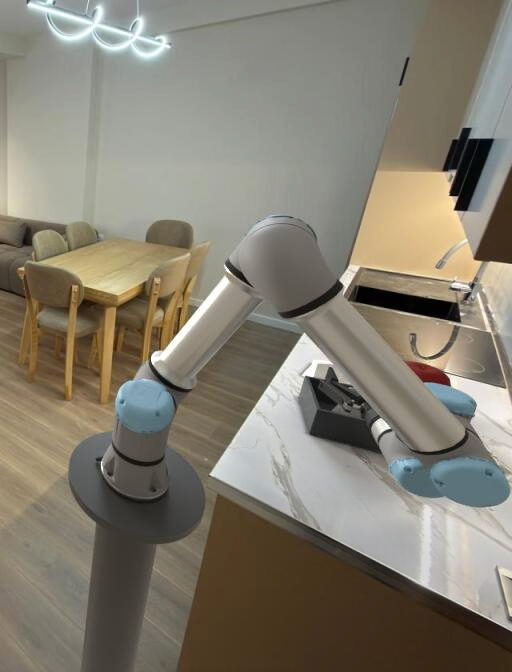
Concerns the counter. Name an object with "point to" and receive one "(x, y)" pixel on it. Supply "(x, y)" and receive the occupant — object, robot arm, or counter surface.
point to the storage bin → (332, 418)
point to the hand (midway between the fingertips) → (362, 378)
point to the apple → (429, 373)
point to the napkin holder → (323, 370)
